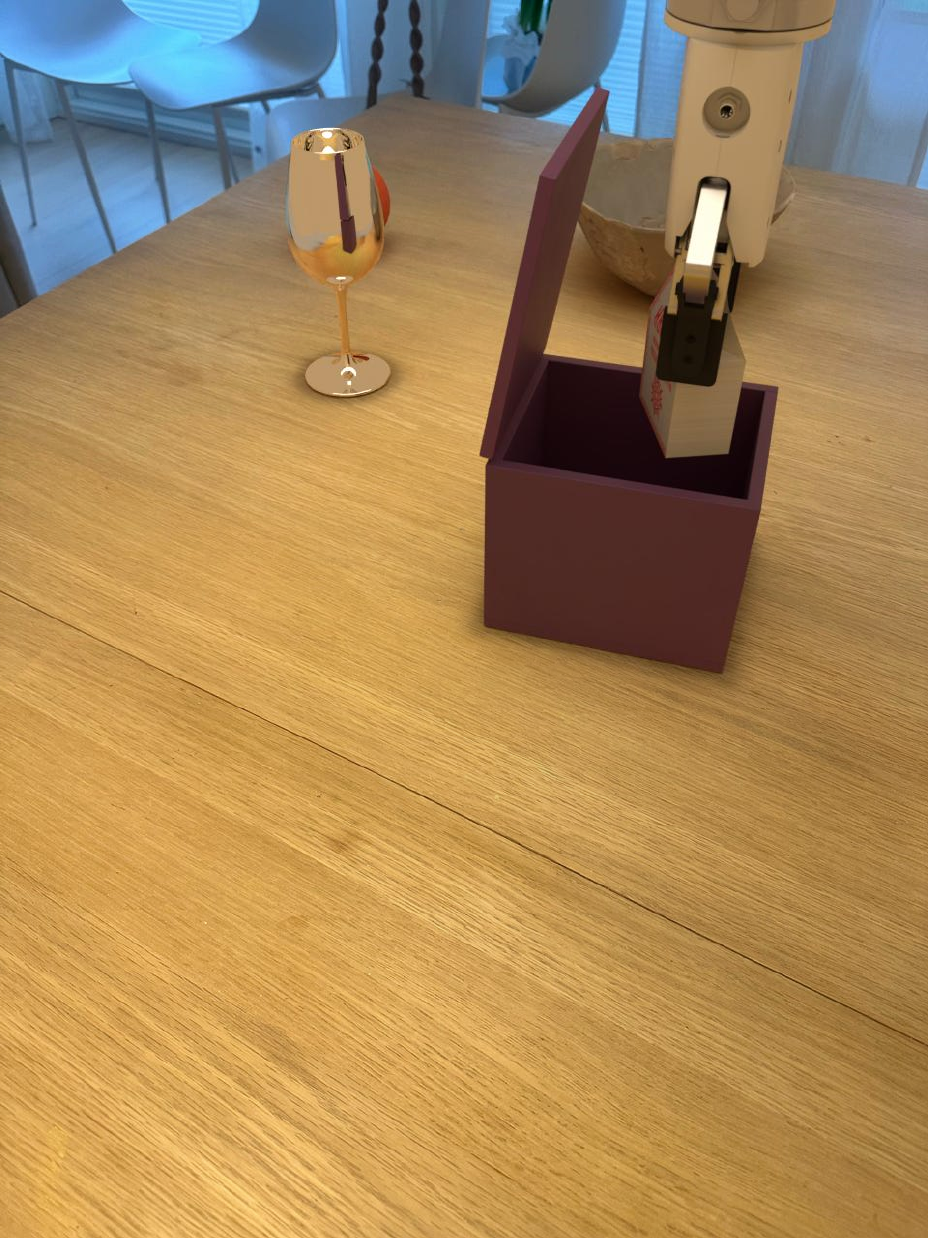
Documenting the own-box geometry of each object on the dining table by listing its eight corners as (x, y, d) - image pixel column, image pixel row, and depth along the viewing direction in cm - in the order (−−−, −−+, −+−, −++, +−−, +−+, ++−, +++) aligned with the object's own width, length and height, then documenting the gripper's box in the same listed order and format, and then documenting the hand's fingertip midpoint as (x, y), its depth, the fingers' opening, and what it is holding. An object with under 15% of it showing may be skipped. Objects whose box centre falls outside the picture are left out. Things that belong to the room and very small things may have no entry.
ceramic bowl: (542, 322, 100) (547, 218, 93) (568, 225, 117) (574, 130, 110) (780, 341, 97) (804, 235, 90) (772, 238, 114) (791, 142, 107)
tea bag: (697, 392, 65) (722, 235, 59) (728, 453, 61) (760, 289, 54) (638, 396, 65) (657, 238, 58) (665, 457, 60) (689, 293, 53)
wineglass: (333, 346, 97) (311, 116, 83) (408, 365, 94) (397, 131, 81) (286, 386, 92) (255, 148, 78) (364, 406, 89) (345, 164, 76)
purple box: (743, 543, 76) (779, 385, 67) (722, 674, 66) (760, 510, 57) (532, 506, 79) (540, 352, 70) (483, 626, 69) (485, 464, 61)
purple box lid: (610, 89, 58) (596, 86, 58) (556, 178, 49) (539, 174, 49) (545, 348, 70) (534, 344, 70) (491, 460, 60) (478, 456, 60)
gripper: (830, 46, 40) (748, 436, 52) (843, -49, 53) (775, 285, 65) (636, 32, 42) (600, 414, 54) (693, -57, 54) (653, 271, 66)
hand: (695, 342), depth 59 cm, fingers closed on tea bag, 7 cm apart
